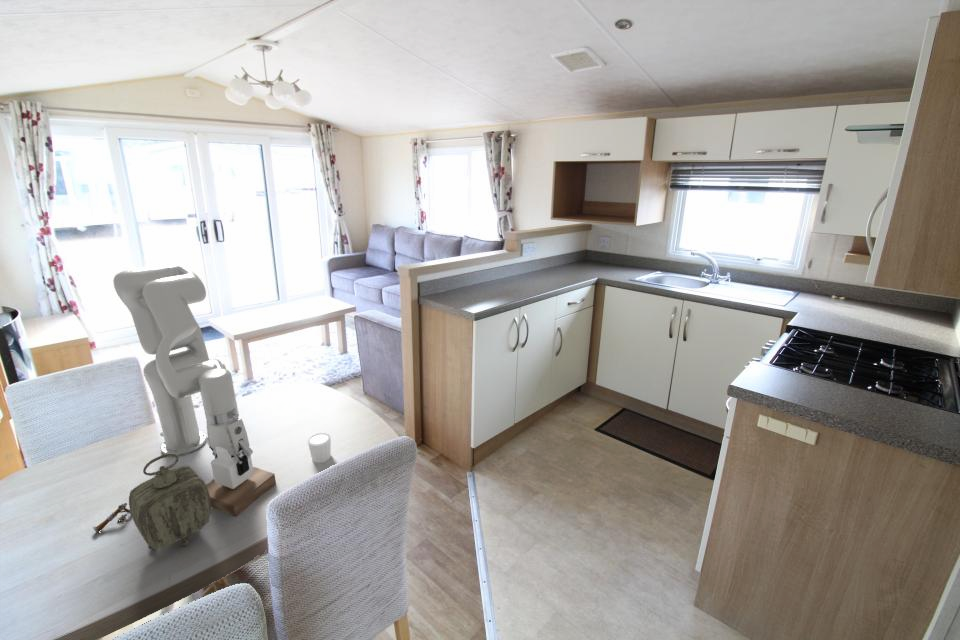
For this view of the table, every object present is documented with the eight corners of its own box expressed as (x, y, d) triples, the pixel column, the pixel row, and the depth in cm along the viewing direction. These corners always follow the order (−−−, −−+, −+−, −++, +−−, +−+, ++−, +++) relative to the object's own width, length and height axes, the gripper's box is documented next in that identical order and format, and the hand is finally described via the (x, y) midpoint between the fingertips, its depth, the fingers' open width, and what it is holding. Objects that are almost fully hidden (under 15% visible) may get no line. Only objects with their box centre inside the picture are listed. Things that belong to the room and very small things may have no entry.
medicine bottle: (236, 467, 130) (229, 432, 126) (254, 474, 128) (248, 438, 124) (214, 482, 124) (206, 446, 120) (233, 489, 121) (225, 453, 117)
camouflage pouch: (206, 515, 119) (187, 436, 110) (220, 533, 114) (201, 450, 105) (141, 549, 108) (115, 464, 100) (154, 570, 103) (127, 482, 95)
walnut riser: (198, 502, 124) (195, 491, 122) (240, 471, 136) (238, 461, 135) (235, 516, 119) (233, 506, 118) (276, 483, 131) (274, 473, 130)
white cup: (325, 465, 139) (323, 446, 137) (305, 462, 141) (303, 443, 138) (336, 452, 146) (334, 434, 143) (317, 449, 147) (315, 431, 145)
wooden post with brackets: (137, 511, 119) (125, 502, 116) (107, 538, 114) (94, 530, 112) (135, 508, 120) (123, 499, 117) (105, 535, 115) (91, 527, 113)
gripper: (258, 413, 119) (267, 468, 125) (211, 400, 125) (222, 453, 131) (234, 428, 113) (245, 485, 119) (185, 414, 118) (198, 469, 124)
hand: (233, 468), depth 125 cm, fingers closed on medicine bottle, 7 cm apart
